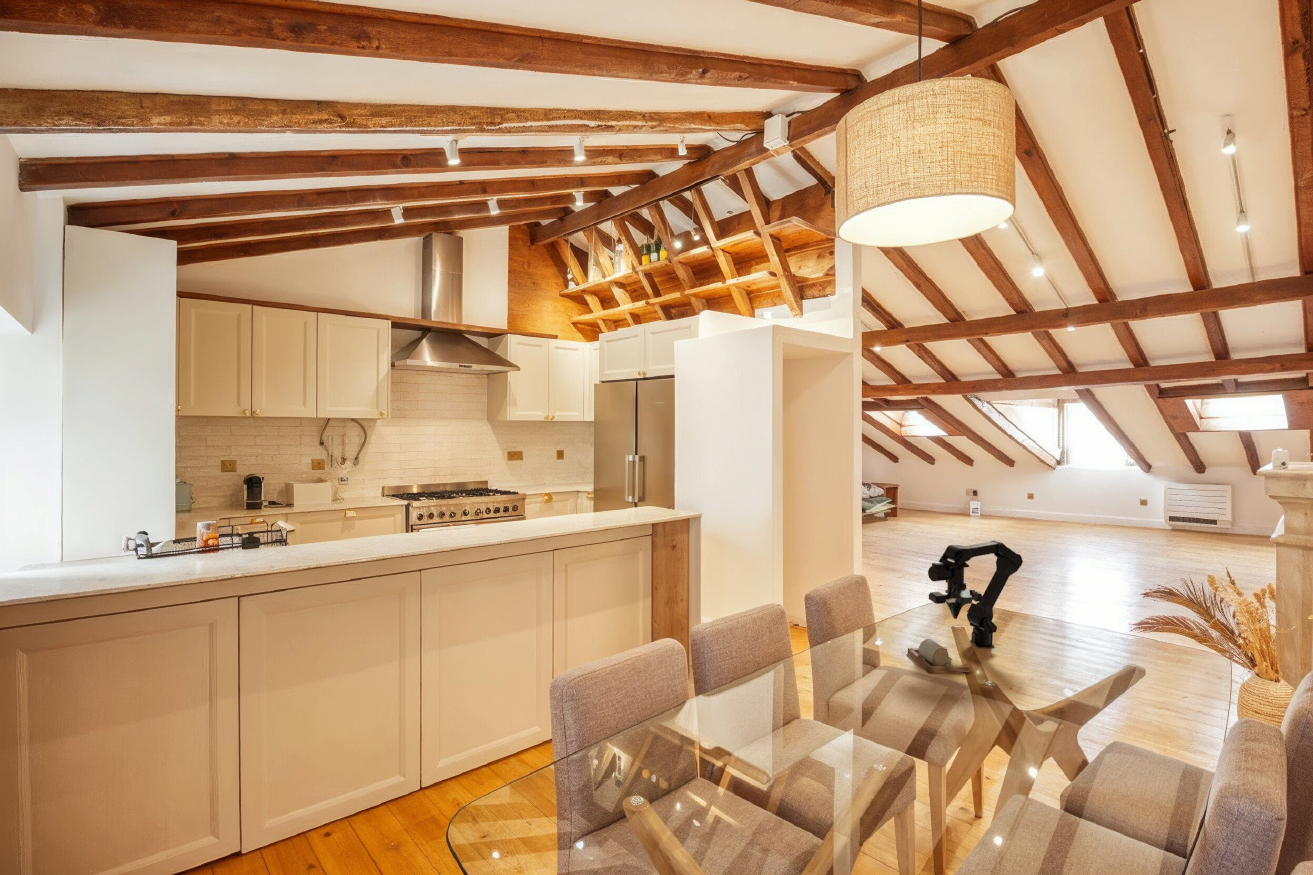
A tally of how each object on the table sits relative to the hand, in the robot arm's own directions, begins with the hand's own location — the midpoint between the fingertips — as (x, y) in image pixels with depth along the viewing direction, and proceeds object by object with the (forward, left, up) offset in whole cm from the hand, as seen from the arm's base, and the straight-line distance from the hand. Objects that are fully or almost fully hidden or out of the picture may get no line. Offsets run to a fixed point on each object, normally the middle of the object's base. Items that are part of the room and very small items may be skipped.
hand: (955, 618), depth 243 cm
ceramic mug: (+13, +12, -12) cm, 21 cm away
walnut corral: (+12, +12, -12) cm, 21 cm away
